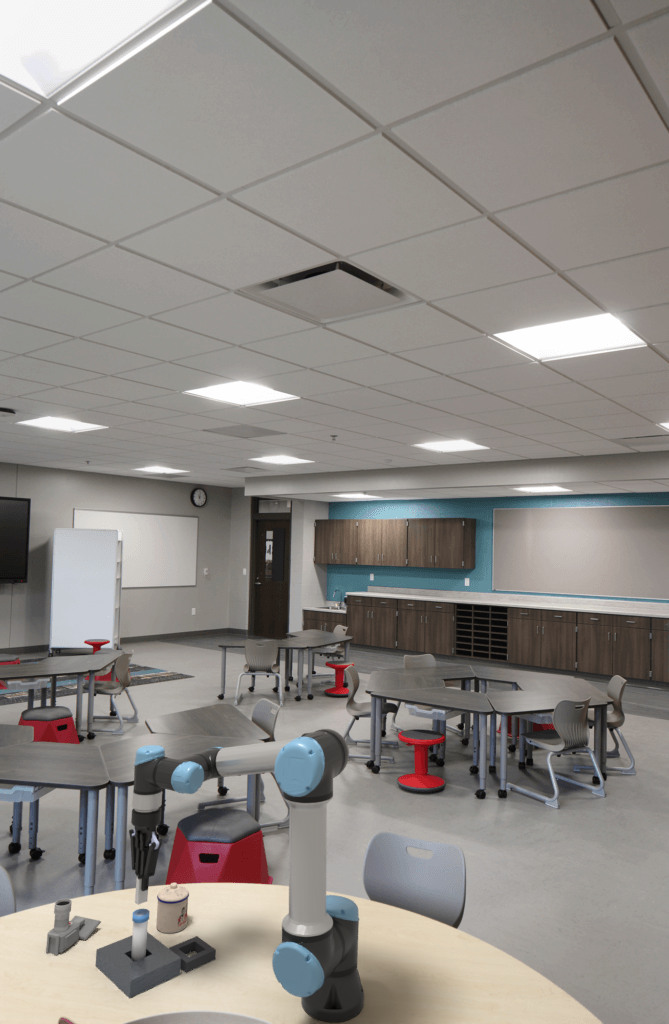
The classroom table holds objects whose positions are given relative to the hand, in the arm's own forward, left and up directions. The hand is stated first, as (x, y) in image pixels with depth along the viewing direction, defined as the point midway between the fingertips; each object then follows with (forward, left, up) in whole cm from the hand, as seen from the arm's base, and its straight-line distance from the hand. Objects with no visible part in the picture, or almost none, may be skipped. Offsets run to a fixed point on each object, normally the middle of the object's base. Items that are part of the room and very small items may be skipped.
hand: (141, 901), depth 169 cm
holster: (-5, -13, -17) cm, 22 cm away
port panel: (0, 0, -17) cm, 17 cm away
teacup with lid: (+14, -19, -17) cm, 29 cm away
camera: (+25, +7, -17) cm, 31 cm away
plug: (0, 0, -17) cm, 17 cm away
